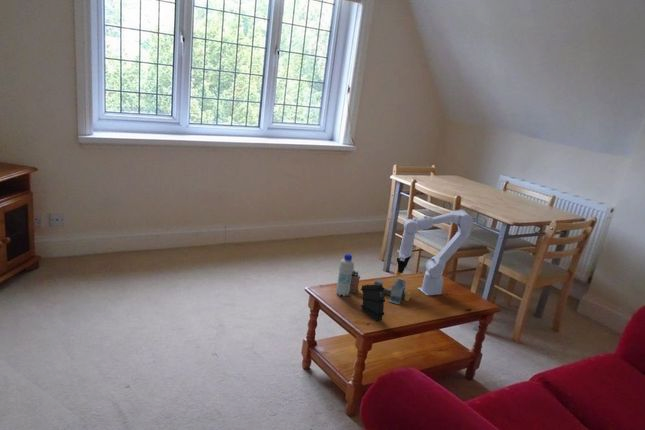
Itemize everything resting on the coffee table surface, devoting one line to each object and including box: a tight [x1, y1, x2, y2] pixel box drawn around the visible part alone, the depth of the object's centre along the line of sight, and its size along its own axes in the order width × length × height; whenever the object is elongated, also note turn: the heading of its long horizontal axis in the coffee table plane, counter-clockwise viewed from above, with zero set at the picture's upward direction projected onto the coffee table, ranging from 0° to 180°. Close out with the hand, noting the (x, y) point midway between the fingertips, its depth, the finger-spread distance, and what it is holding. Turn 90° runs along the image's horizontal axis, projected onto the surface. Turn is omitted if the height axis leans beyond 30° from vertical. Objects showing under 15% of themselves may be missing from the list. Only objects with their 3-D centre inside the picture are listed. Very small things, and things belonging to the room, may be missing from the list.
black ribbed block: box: [360, 284, 386, 322], centre depth 208 cm, size 4×13×15 cm, turn 34°
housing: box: [387, 278, 408, 305], centre depth 229 cm, size 5×16×7 cm, turn 160°
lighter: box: [349, 269, 361, 293], centre depth 229 cm, size 8×3×10 cm, turn 84°
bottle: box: [335, 253, 355, 297], centre depth 222 cm, size 7×7×20 cm
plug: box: [373, 278, 411, 302], centre depth 230 cm, size 17×3×5 cm, turn 70°
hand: (402, 269), depth 237 cm, fingers open, 7 cm apart
